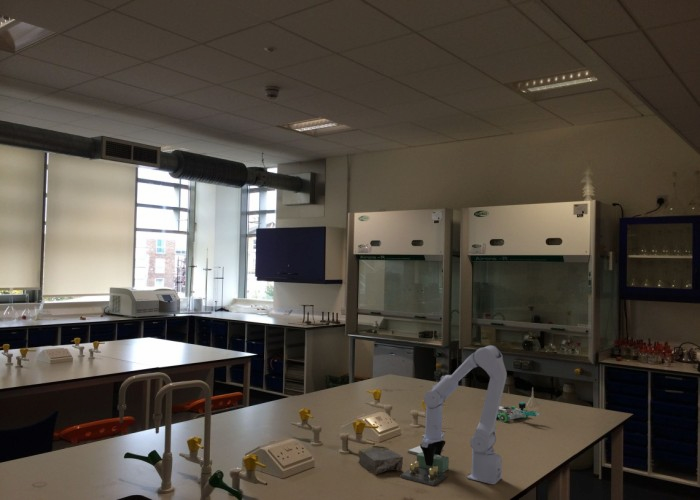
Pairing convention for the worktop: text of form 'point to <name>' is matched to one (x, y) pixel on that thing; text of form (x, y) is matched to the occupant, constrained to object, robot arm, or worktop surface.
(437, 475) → the plate
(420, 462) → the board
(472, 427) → the worktop surface
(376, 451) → the geological specimen
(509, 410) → the robot kit
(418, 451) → the external hard drive
